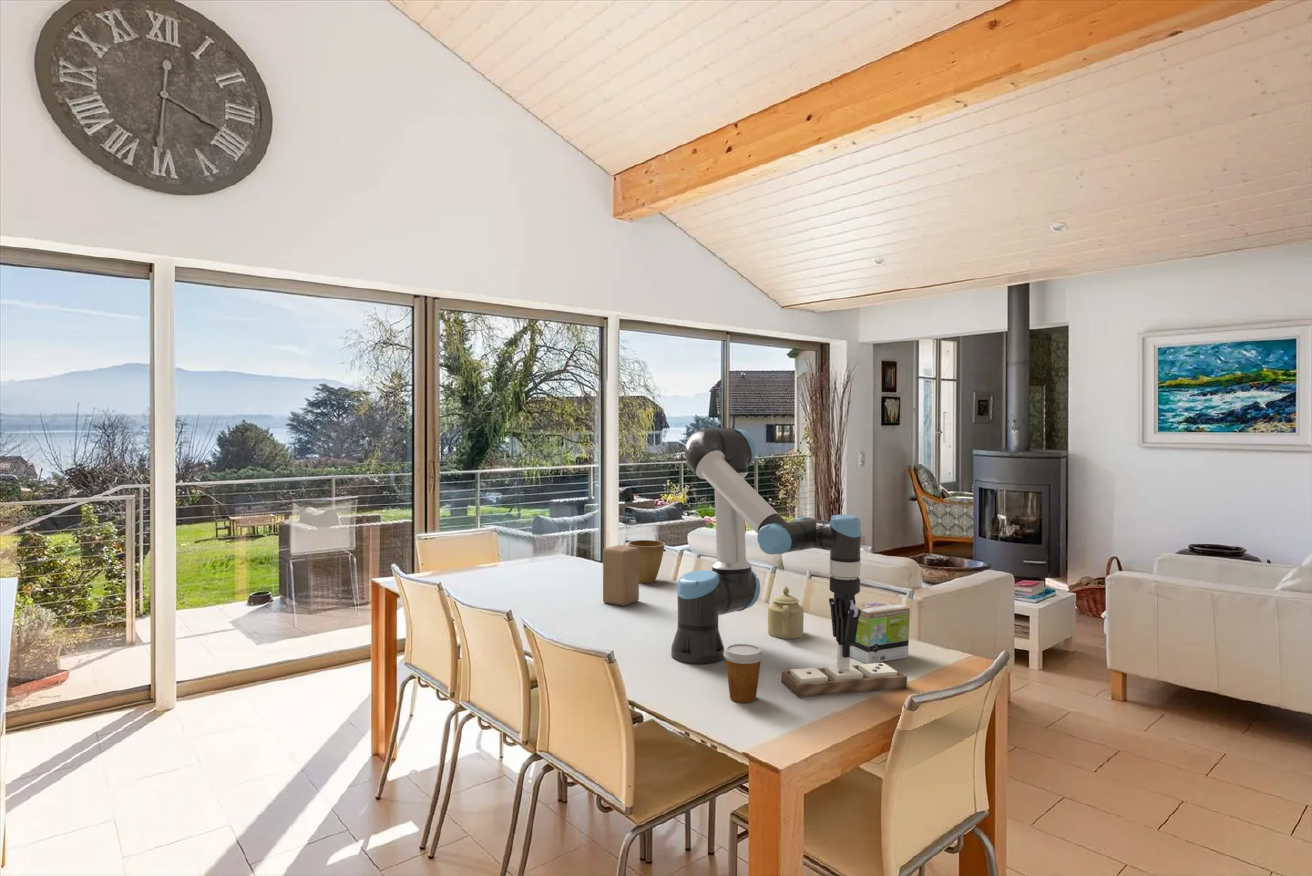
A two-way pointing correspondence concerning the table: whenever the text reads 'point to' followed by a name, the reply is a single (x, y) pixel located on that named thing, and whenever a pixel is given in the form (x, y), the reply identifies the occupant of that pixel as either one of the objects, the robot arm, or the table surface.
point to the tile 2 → (843, 673)
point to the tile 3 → (877, 670)
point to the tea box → (881, 632)
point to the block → (620, 575)
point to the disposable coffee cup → (743, 671)
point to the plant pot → (648, 559)
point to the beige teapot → (785, 617)
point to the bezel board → (843, 684)
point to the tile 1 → (808, 675)
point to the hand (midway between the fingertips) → (843, 668)
